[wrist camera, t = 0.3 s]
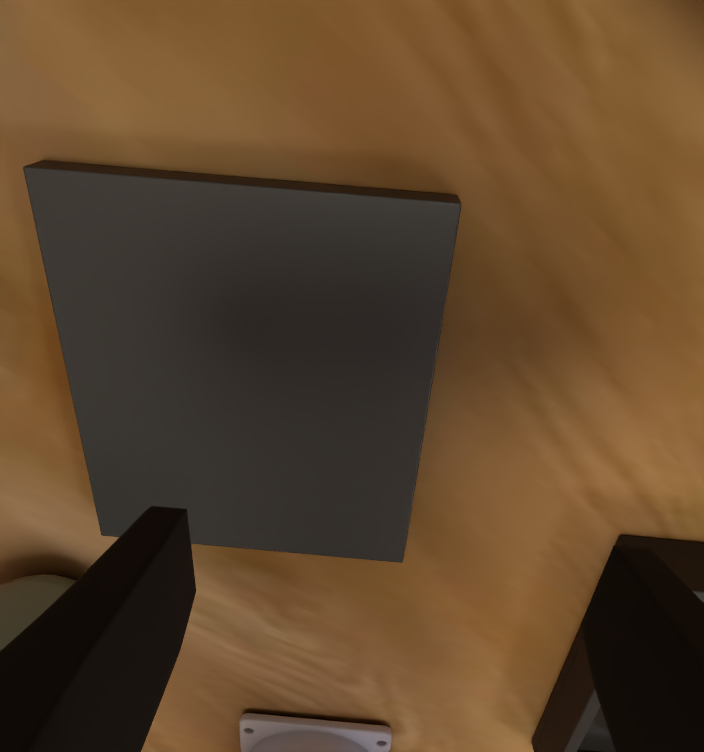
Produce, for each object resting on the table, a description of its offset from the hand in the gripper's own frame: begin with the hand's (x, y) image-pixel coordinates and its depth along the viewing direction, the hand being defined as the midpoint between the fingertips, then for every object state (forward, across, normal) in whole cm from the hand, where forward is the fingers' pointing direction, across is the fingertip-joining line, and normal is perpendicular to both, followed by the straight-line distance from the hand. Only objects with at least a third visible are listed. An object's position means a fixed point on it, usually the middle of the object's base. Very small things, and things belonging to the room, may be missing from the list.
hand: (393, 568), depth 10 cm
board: (+10, +4, +3) cm, 11 cm away
